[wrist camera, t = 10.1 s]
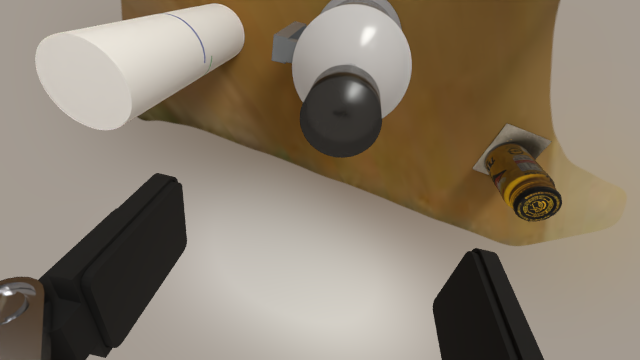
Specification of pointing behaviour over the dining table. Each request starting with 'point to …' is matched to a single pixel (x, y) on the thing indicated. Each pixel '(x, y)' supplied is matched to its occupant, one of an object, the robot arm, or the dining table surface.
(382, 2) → the press housing
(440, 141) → the dining table surface
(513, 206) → the condiment
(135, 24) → the cylindrical container
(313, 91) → the plunger
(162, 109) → the dining table surface
